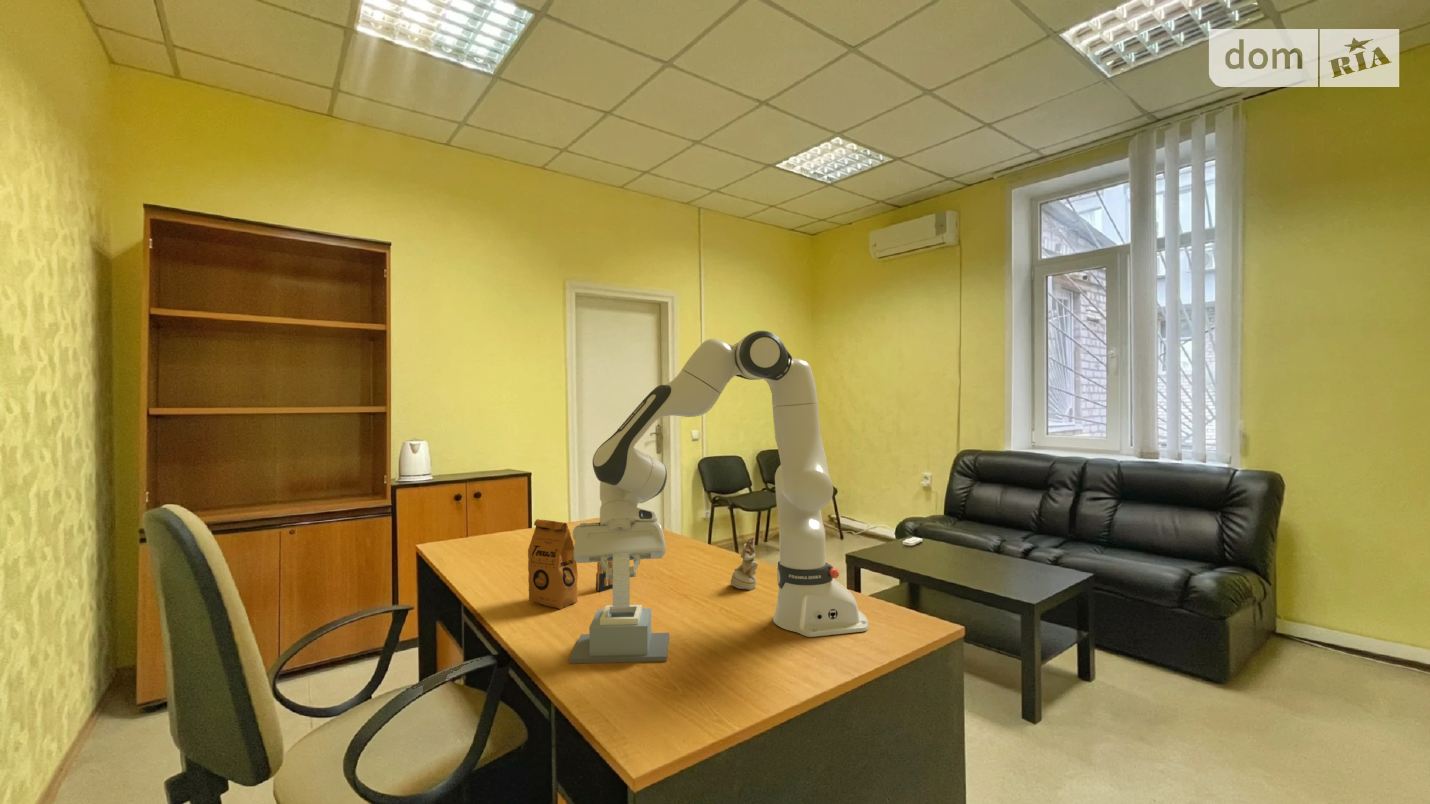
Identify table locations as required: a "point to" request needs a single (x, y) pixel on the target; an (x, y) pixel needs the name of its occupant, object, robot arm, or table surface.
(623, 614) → the block
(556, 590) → the coffee package
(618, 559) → the shaft
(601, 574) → the ammunition clip
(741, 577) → the figurine
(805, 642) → the table surface
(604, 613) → the frame
